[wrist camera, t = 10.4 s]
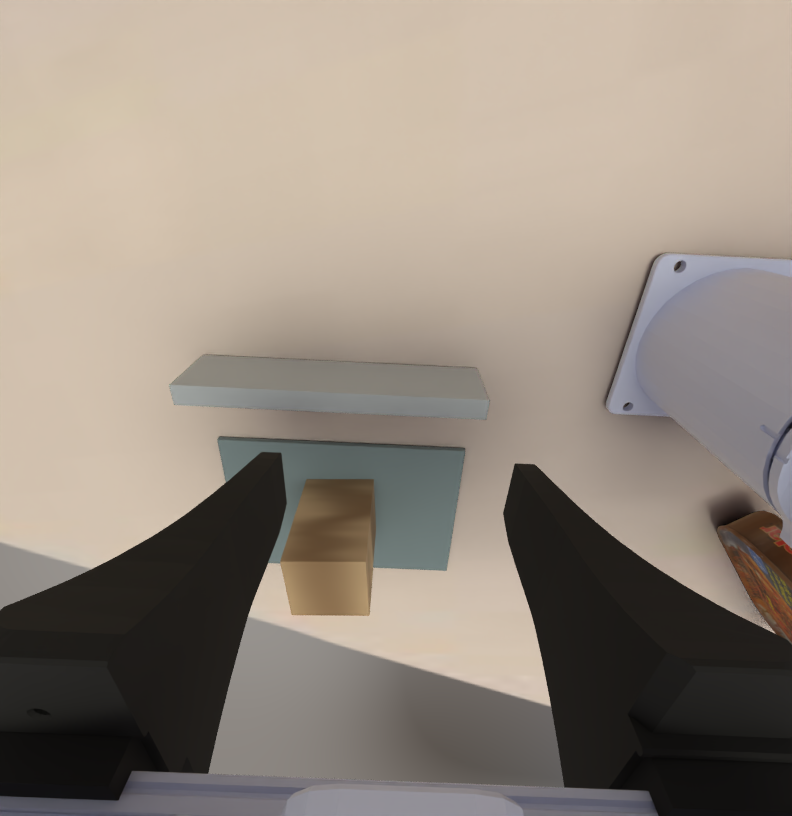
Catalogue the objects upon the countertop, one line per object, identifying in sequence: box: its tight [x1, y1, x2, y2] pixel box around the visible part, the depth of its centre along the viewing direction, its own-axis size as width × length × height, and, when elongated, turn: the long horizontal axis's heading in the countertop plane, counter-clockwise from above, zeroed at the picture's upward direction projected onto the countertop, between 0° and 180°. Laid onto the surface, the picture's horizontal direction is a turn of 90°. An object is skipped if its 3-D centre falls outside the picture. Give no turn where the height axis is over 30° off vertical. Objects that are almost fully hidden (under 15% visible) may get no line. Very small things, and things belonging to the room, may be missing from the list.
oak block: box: [280, 479, 376, 616], centre depth 23 cm, size 4×4×6 cm
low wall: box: [169, 355, 490, 420], centre depth 20 cm, size 14×1×4 cm, turn 87°
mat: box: [217, 437, 465, 571], centre depth 26 cm, size 14×10×1 cm
